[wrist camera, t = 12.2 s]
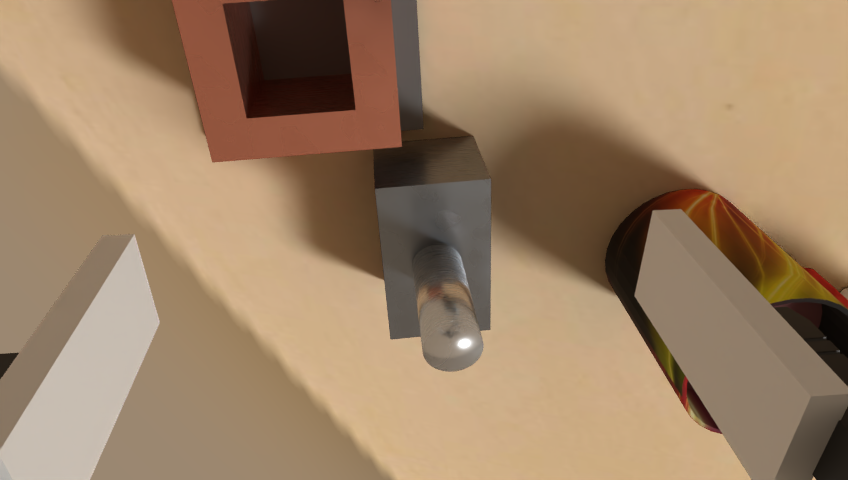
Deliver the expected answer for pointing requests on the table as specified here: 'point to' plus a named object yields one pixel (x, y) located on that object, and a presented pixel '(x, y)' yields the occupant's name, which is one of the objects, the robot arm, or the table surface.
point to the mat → (334, 46)
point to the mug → (746, 252)
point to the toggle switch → (436, 246)
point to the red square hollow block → (289, 86)
